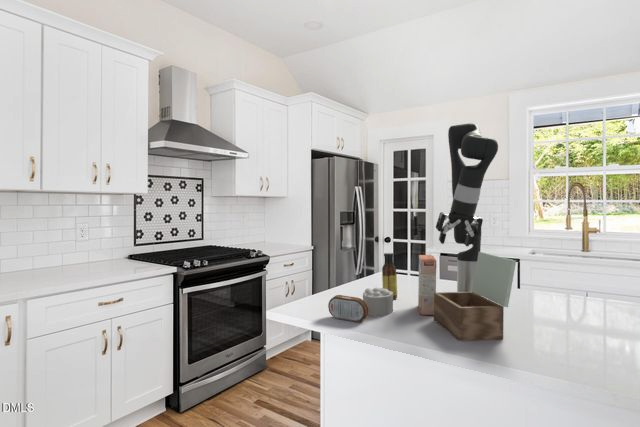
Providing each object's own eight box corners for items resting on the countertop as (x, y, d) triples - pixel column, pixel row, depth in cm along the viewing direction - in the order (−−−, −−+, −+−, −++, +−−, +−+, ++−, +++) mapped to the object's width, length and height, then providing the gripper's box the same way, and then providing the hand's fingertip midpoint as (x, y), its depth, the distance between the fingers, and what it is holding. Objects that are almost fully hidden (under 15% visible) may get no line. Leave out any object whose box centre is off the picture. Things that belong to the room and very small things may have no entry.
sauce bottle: (398, 297, 170) (398, 252, 170) (396, 300, 164) (396, 254, 164) (383, 296, 172) (383, 251, 172) (381, 299, 166) (381, 253, 166)
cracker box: (436, 316, 142) (437, 259, 141) (419, 315, 143) (420, 259, 142) (433, 306, 155) (433, 254, 155) (417, 305, 157) (418, 254, 156)
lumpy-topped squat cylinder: (395, 310, 150) (395, 288, 150) (382, 318, 139) (382, 294, 139) (371, 306, 156) (371, 285, 156) (357, 314, 145) (357, 291, 145)
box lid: (471, 291, 138) (477, 292, 138) (504, 306, 117) (510, 307, 117) (478, 251, 138) (484, 252, 138) (512, 260, 117) (518, 261, 117)
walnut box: (471, 319, 138) (472, 291, 137) (503, 339, 118) (503, 306, 117) (434, 320, 136) (434, 292, 136) (459, 340, 117) (459, 308, 116)
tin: (368, 322, 135) (368, 298, 135) (365, 324, 133) (364, 300, 132) (331, 315, 143) (331, 293, 143) (327, 318, 140) (326, 295, 140)
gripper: (482, 197, 128) (470, 241, 134) (440, 192, 127) (430, 237, 133) (492, 204, 121) (479, 251, 127) (448, 199, 120) (436, 246, 126)
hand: (454, 244), depth 130 cm, fingers open, 8 cm apart
